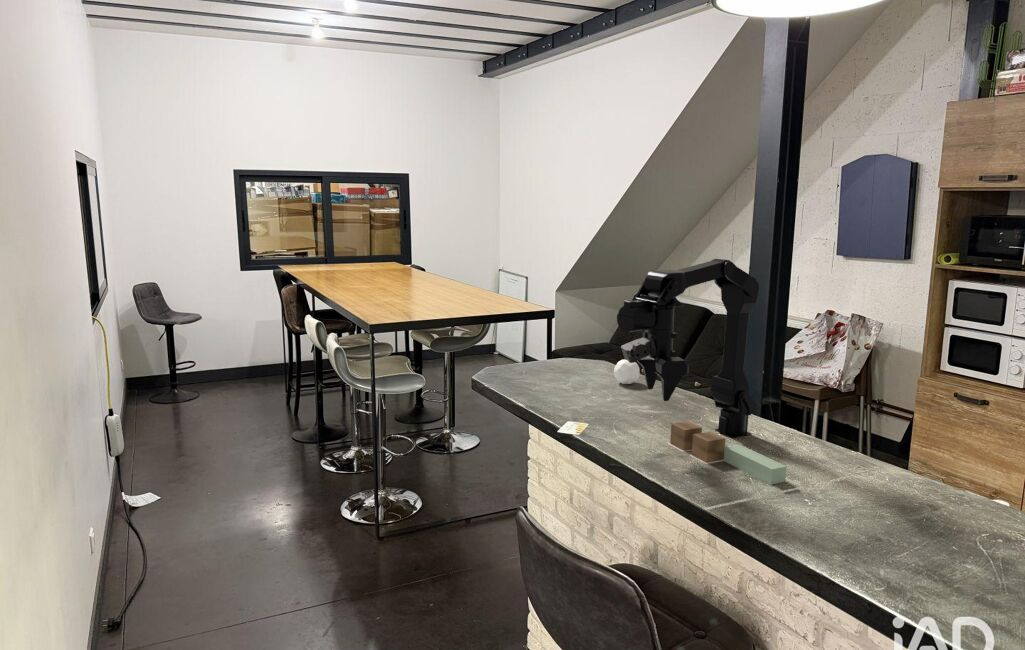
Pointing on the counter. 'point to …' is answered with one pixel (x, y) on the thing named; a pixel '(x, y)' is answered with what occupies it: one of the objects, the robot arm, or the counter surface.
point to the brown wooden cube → (683, 434)
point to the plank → (755, 464)
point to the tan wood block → (708, 446)
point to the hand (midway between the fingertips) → (657, 394)
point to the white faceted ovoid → (626, 372)
